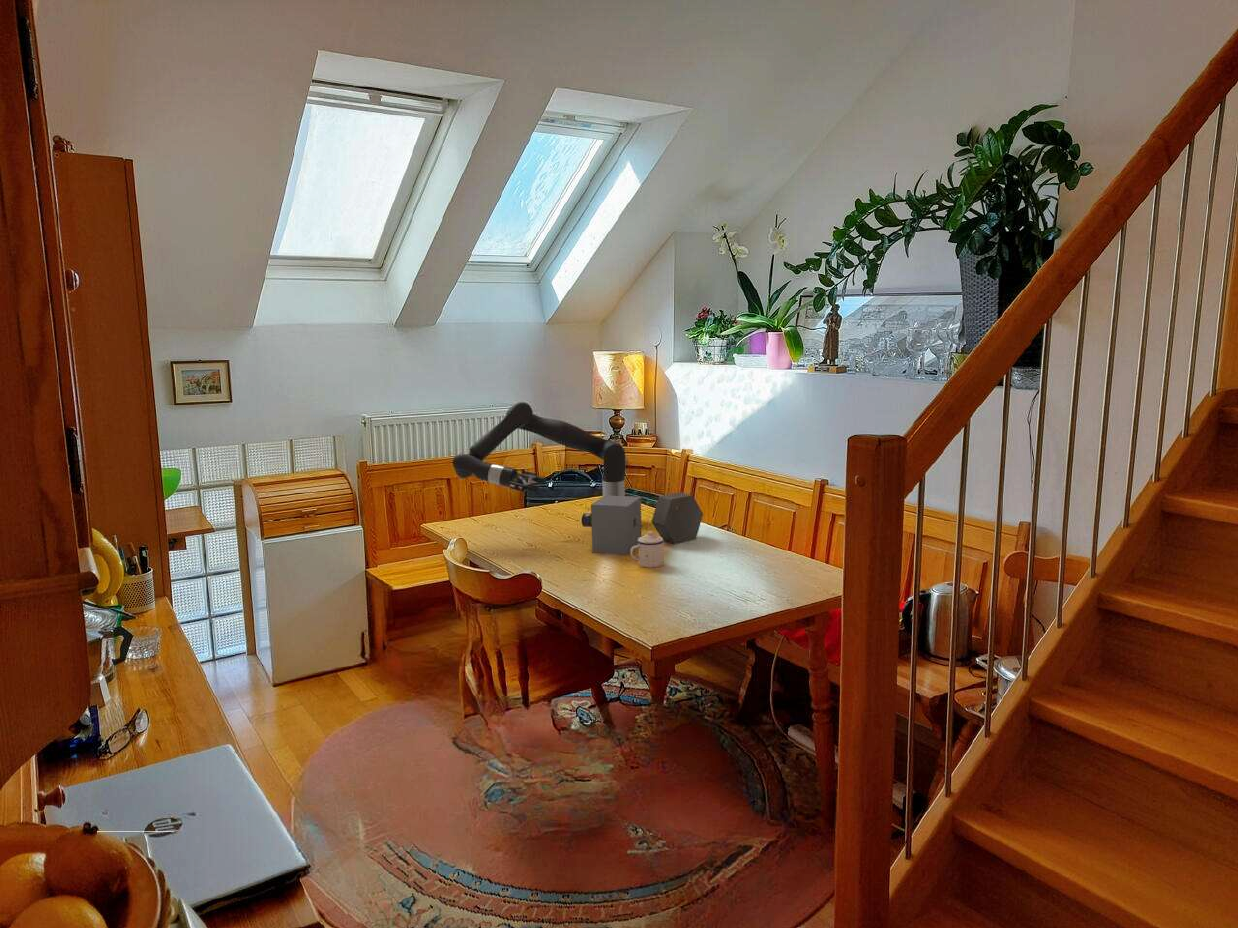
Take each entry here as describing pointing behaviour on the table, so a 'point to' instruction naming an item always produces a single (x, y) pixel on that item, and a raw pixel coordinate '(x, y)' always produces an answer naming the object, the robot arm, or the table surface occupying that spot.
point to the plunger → (586, 520)
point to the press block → (615, 524)
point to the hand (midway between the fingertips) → (541, 485)
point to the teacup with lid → (649, 550)
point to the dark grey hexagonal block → (677, 517)
